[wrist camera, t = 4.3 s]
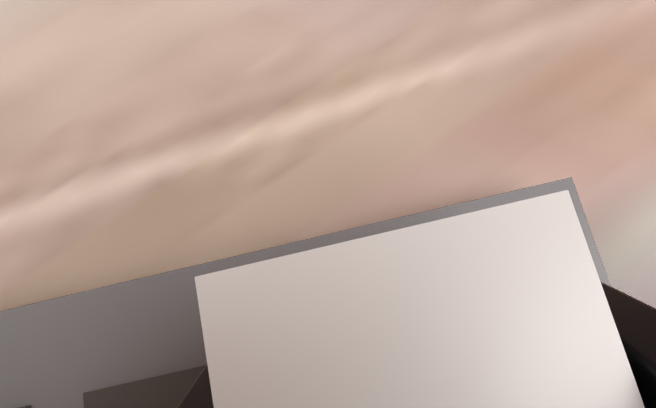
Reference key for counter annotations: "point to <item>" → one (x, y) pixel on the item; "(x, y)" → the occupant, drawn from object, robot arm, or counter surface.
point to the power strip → (160, 325)
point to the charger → (423, 319)
